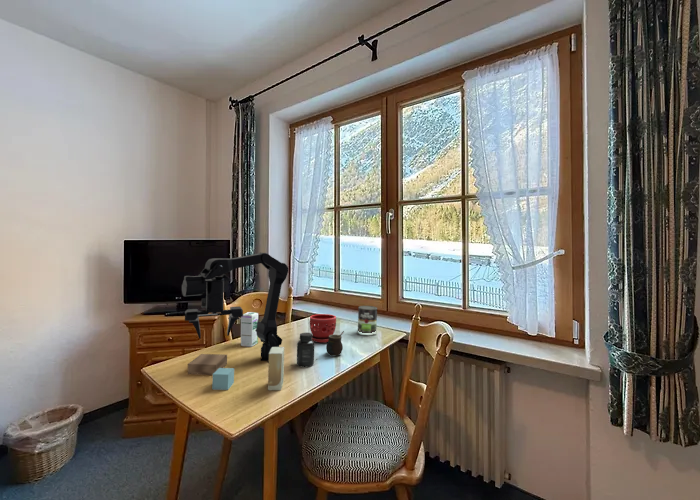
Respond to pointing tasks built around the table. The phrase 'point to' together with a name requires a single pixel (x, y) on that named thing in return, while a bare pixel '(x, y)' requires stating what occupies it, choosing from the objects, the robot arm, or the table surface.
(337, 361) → the table surface
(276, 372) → the skincare box
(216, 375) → the teal cube
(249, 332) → the syrup box
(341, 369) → the table surface
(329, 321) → the plant pot
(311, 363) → the supplement bottle
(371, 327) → the coffee can
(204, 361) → the walnut block
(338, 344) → the mate gourd
